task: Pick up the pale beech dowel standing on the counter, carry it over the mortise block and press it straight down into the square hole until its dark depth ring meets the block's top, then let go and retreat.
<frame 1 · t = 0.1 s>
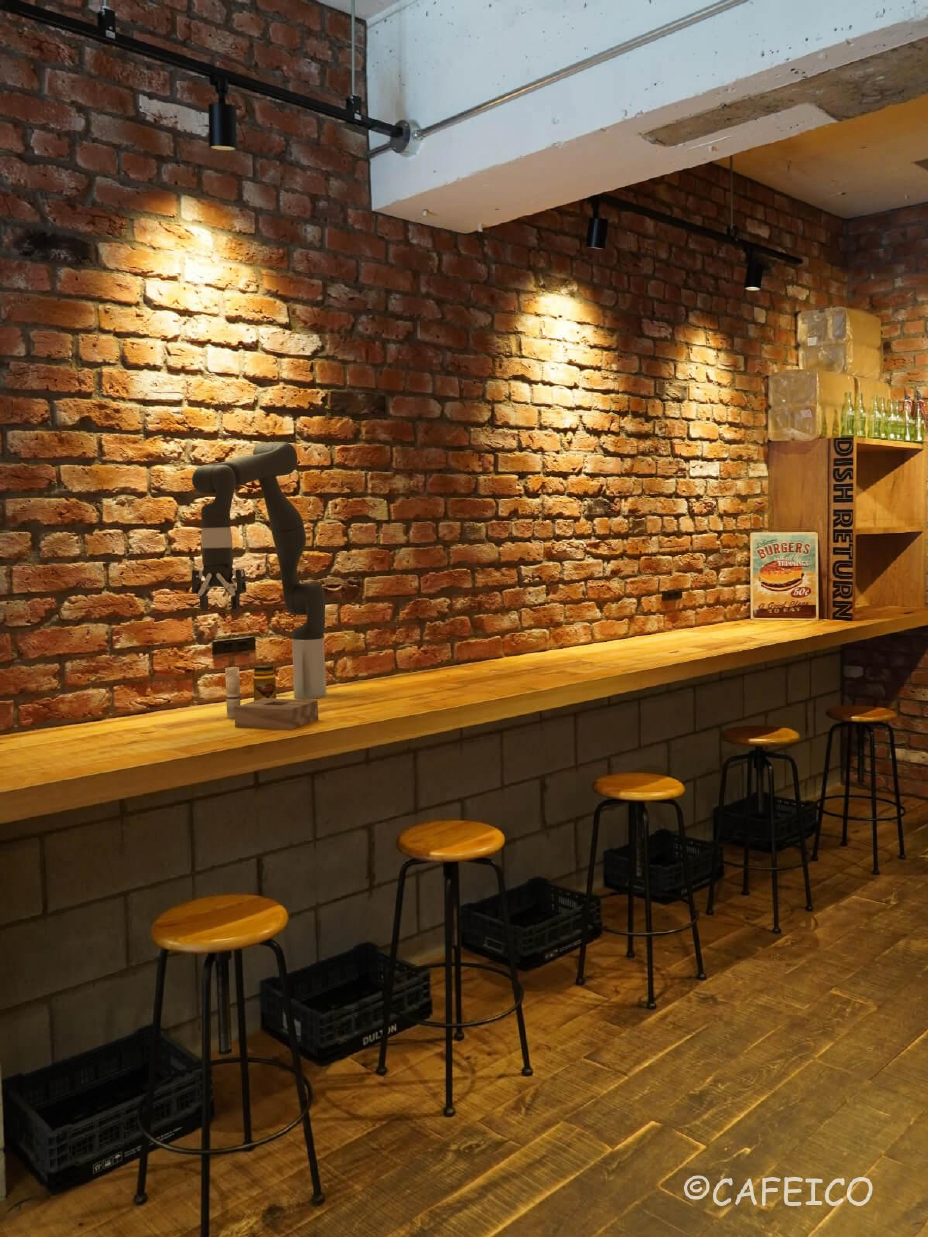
hand: (219, 610, 262), 29 cm above the bar counter, fingers open, 8 cm apart
peg: (234, 716, 276), on the bar counter
board: (277, 723, 265), on the bar counter
condiment: (263, 709, 288), on the bar counter
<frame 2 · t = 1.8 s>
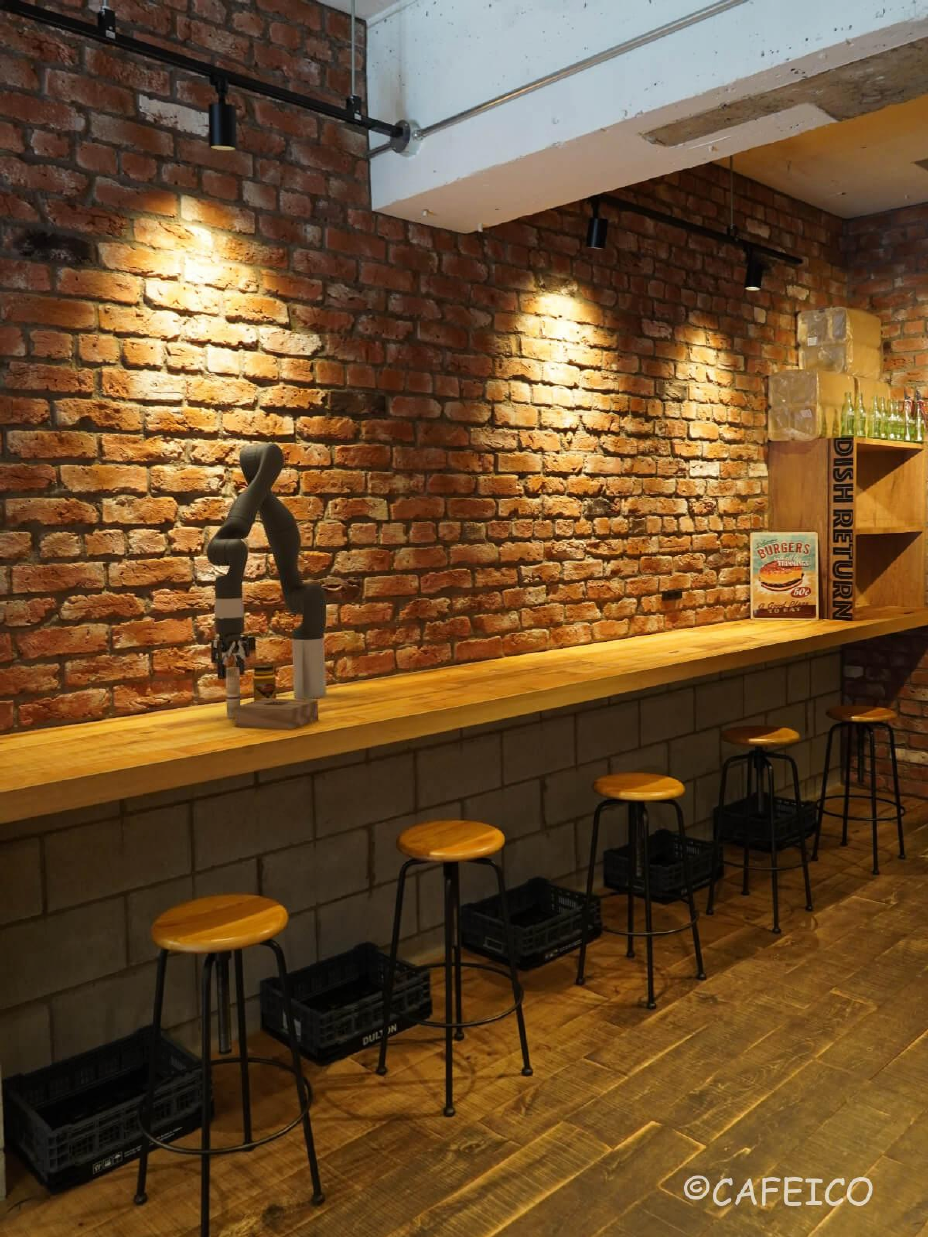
hand: (231, 676, 275), 11 cm above the bar counter, fingers open, 8 cm apart
nothing on the bar counter moved.
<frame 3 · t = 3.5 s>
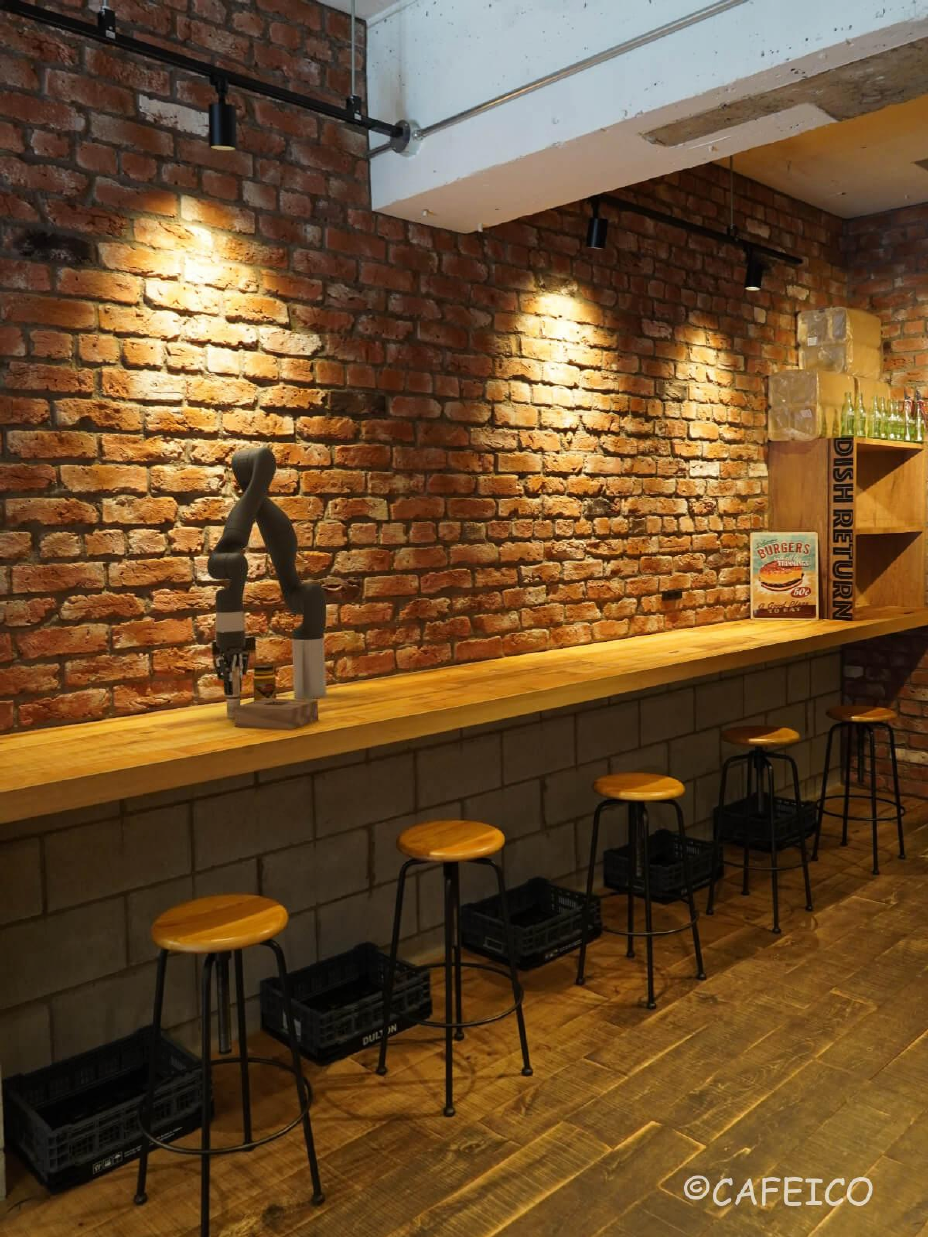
hand: (233, 693, 275), 6 cm above the bar counter, fingers closed on peg, 3 cm apart
peg: (234, 716, 276), on the bar counter, touching gripper
everything else where it was.
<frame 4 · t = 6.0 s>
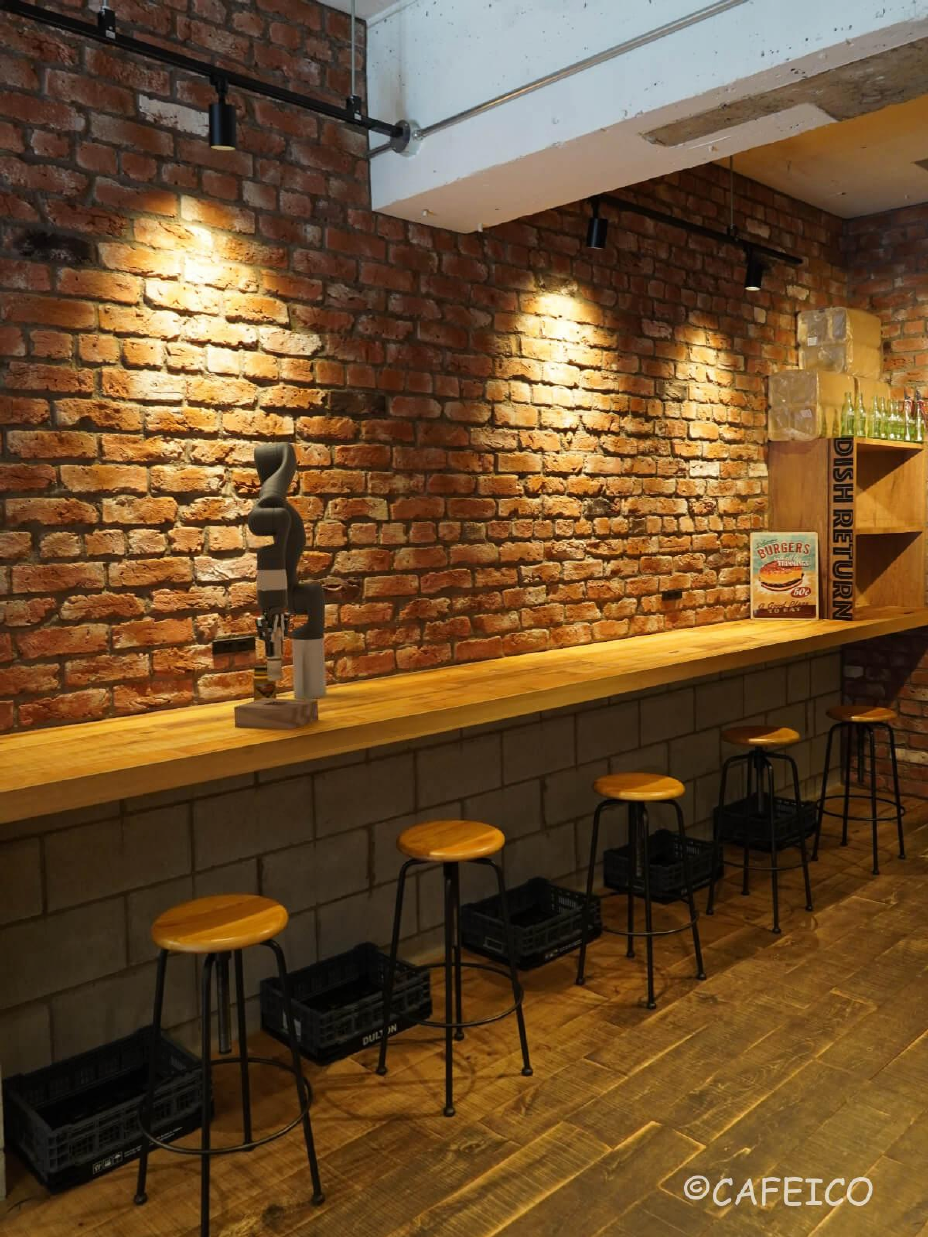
hand: (274, 655, 264), 17 cm above the bar counter, fingers closed on peg, 3 cm apart
peg: (275, 679, 265), point 11 cm above the bar counter, touching gripper
everything else where it was.
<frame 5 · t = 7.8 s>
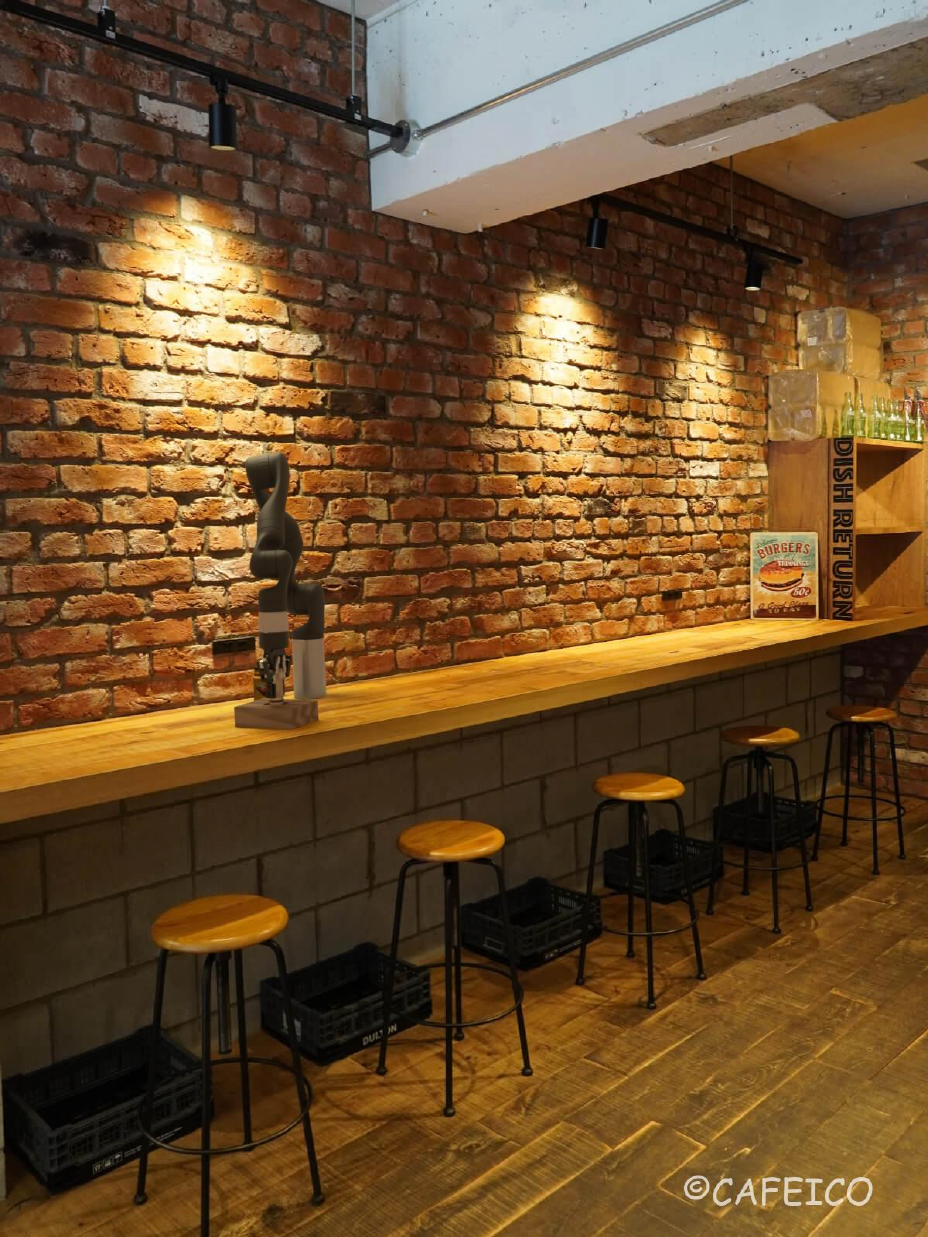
hand: (276, 696, 265), 7 cm above the bar counter, fingers closed on peg, 3 cm apart
peg: (276, 720, 265), point 1 cm above the bar counter, touching gripper
everything else where it was.
when the fingers open (7 cm above the bar counter, at t = 9.0 s): peg stays where it is, resting in board.
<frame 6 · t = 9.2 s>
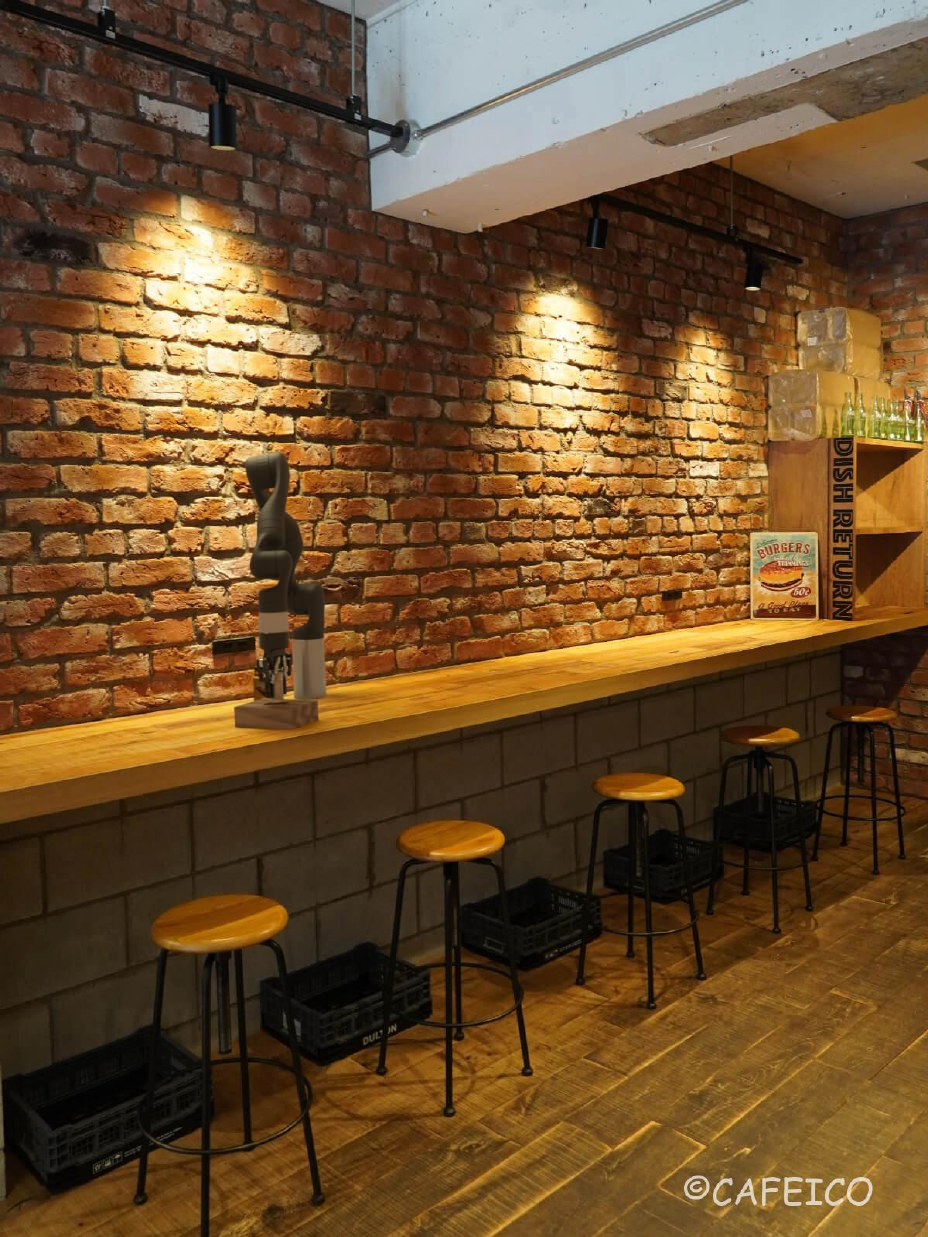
hand: (276, 695, 265), 7 cm above the bar counter, fingers open, 5 cm apart
peg: (277, 723, 266), resting in board
everything else where it was.
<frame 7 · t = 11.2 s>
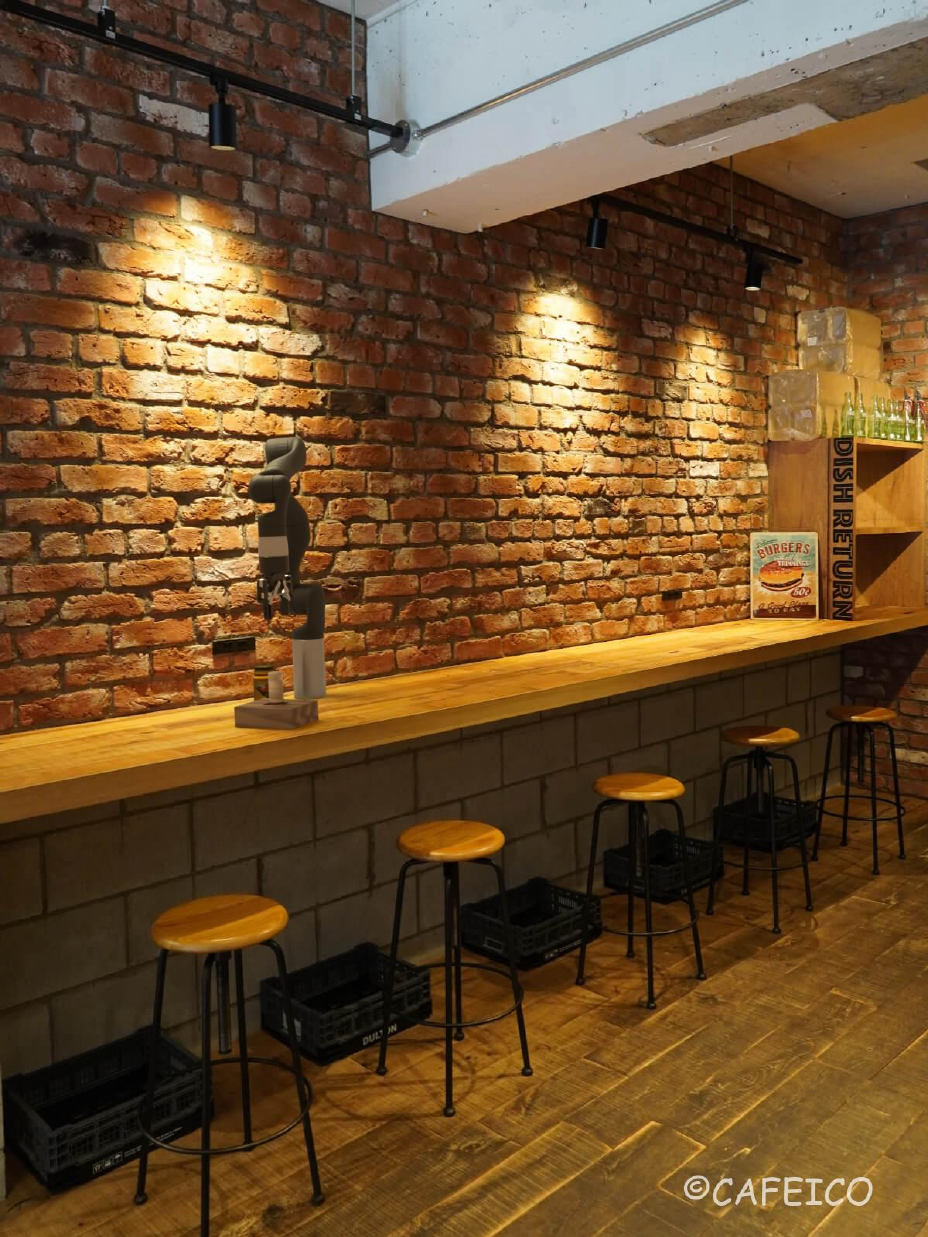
hand: (276, 617, 268), 27 cm above the bar counter, fingers open, 8 cm apart
nothing on the bar counter moved.
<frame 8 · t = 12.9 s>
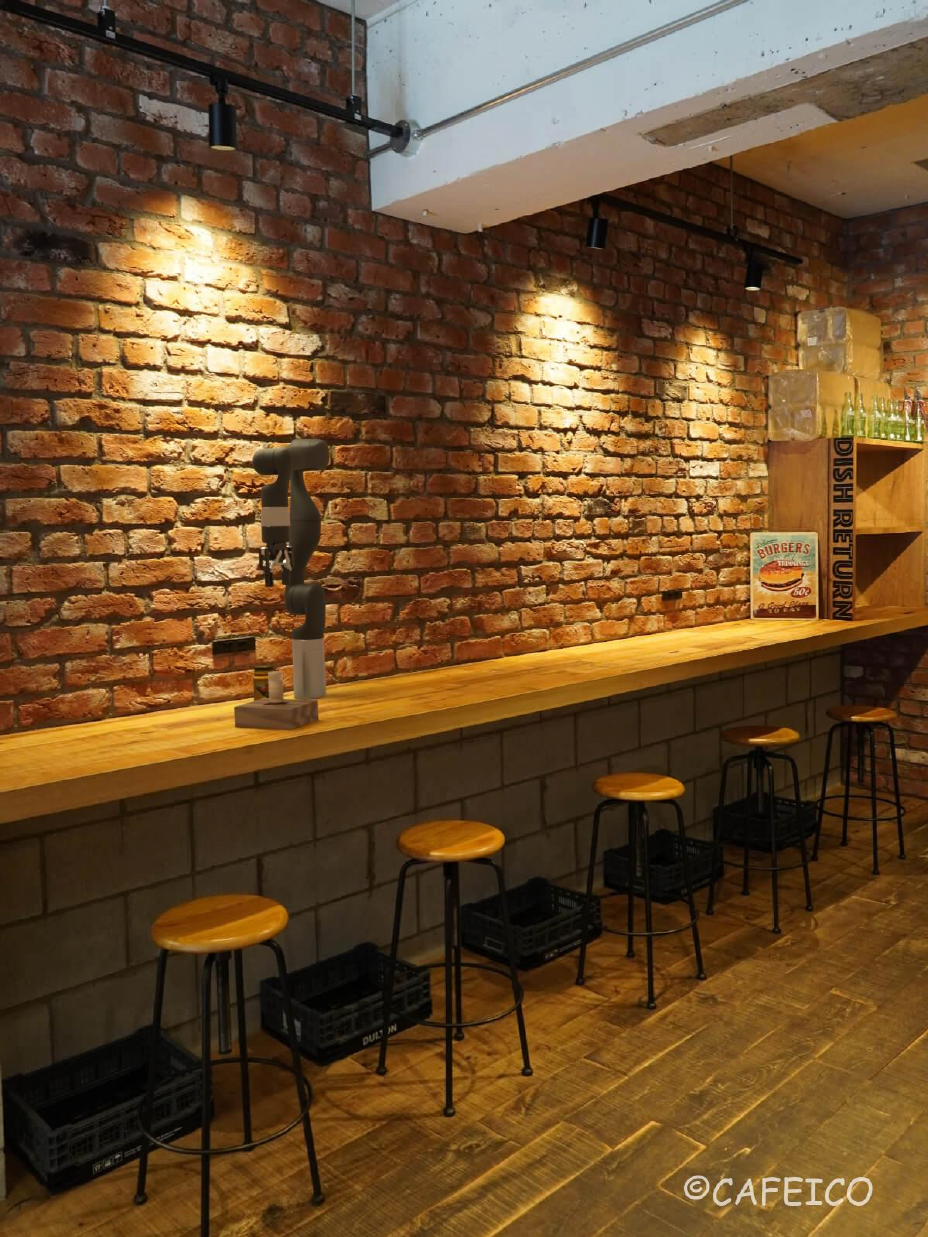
hand: (277, 586, 277), 34 cm above the bar counter, fingers open, 8 cm apart
nothing on the bar counter moved.
at the end: peg 0.1 cm off-centre on the board, point 0.0 cm above the board's base; peg tilted 0°; the gripper is holding nothing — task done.
